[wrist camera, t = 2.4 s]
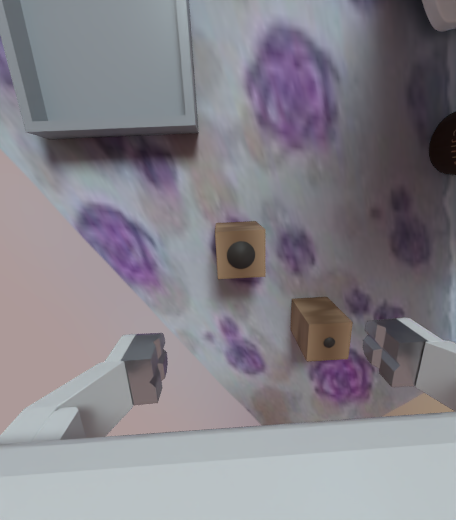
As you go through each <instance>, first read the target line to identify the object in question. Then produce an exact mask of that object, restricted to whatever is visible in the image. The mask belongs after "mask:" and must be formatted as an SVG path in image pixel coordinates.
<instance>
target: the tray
mask: <svg viewBox="0 0 456 520" xmlns="http://www.w3.org/2000/svg"><path fill="white" fill-rule="evenodd" d="M0 35H1V39H2V43H3V47H4V51H5V54H6V58H7V62H8V66H9V70H10V74H11V77H12V81H13V85H14V89H15V93H16V96H17V100H18V104H19V108H20V112H21V116H22V119H23V123H24V127H25V131H26V132H27V133H30V134H34V135H37V136H40V137H44V138H47V139H66V138H90V137H114V136H138V135H162V134H185V133H198V120H197V106H196V93H195V79H194V65H193V51H192V38H191V24H190V10H189V0H0Z"/></svg>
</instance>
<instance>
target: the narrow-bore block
mask: <svg viewBox="0 0 456 520" xmlns="http://www.w3.org/2000/svg"><path fill="white" fill-rule="evenodd" d="M352 323H353V322H352V321H351V320H350V319H349V318H348V317H347V316H346V315H345V314H344V313H343V312H342V311H341V310H340V309H339V308H338V307H337V306H336V305H335V304H334V303H333V302H332V301H331V300H330V299H329V298H328V297H315V298H298V299H292V308H291V331H292V333H293V335H294V337H295V339H296V341H297V343H298V345H299V347H300V349H301V351H302V353H303V355H304V357H305V359H306V361H322V360H339V359H348V356H349V347H350V339H351V331H352Z"/></svg>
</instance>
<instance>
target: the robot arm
mask: <svg viewBox="0 0 456 520" xmlns="http://www.w3.org/2000/svg"><path fill="white" fill-rule="evenodd" d="M422 2H423V5H424V8H425V11H426V14H427V17H428V19H429V21H430V23H431V25H432V26H433V28H434V29H435V30H437V31H447V30H451V29H455V28H456V0H422ZM365 331H366V333H367V334H368V335H367V336H366V337H365V339H364V340H363V350H364V354H365V356H366V358H367V360H368V361H369V362H370V363H371V364H372V365H374V366H376V367H378V368H379V373H380V375H381V376H382V377H383V378H384V379H385V380H386V381H387V382H388V384H389V385H390V386H391V387H403V386H416V388H418V389H419V390H421V391H423V392H424V393H426V394H427V395H429V396H431V397H433V398H434V399H436V400H437V401H439V402H441V403H442V404H444V405H445V406H447V407H449V408H450V409H452V410H454V411H455V412H445V413H430V414H416V415H402V416H387V417H373V418H359V419H345V420H331V421H318V422H304V423H290V424H277V425H263V426H250V427H235V428H221V429H207V430H194V431H179V432H165V433H151V434H137V435H123V436H109V437H105V436H106V435H107V434H108V433H109V432H110V431H111V430H112V429H113V428H114V427H115V425H117V424H118V422H119V421H120V420H121V419H122V418H123V417H124V416H125V415H126V414H127V413H128V412H129V411H130V410H131V409H132V407H133V405H141V404H152V403H158V400H159V397H160V394H161V390H162V382H161V381H162V380H163V379H164V378H165V376H166V372H167V352H166V351H165V350H164V349H163V348H164V345H165V338H164V334H163V333H150V334H129V335H124V336H122V337H121V338H120V340H119V341H118V343H117V344H116V346H115V347H114V349H113V351H112V352H111V353H110V355H109V356H108V357H107V359H106V360H105V362H104V363H99V364H97V365H95V366H94V367H92V368H90V369H89V370H87V371H86V372H84V373H82V374H81V375H79V376H77V377H76V378H74V379H73V380H71V381H69V382H68V383H66V384H64V385H63V386H61V387H59V388H58V389H56V390H54V391H53V392H51V393H49V394H48V395H46V396H45V397H43V398H41V399H40V400H38V401H36V402H35V403H33V404H31V405H30V406H28V407H27V408H25V409H24V410H23V411H22V412H21V413H20V414H19V415H18V416H17V418H16V419H15V420H14V421H13V422H12V423H11V424H10V425H9V426H8V428H7V429H6V430H5V431H4V432H3V433H2V434H1V435H0V520H456V343H454V342H451V341H444V340H442V339H441V338H439V337H438V336H436V335H434V334H433V333H431V332H430V331H428V330H427V329H425V328H424V327H422V326H421V325H419V324H418V323H416V322H415V321H413V320H412V319H410V318H406V317H404V318H394V319H384V320H372V321H367V323H366V325H365Z"/></svg>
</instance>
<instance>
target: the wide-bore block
mask: <svg viewBox="0 0 456 520" xmlns="http://www.w3.org/2000/svg"><path fill="white" fill-rule="evenodd" d="M215 239H216V255H217V271H218V279H231V278H249V277H265V229H264V228H263V227H262V226H261V225H259V224H258V223H257V222H256V221H250V222H229V223H216V228H215Z"/></svg>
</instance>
